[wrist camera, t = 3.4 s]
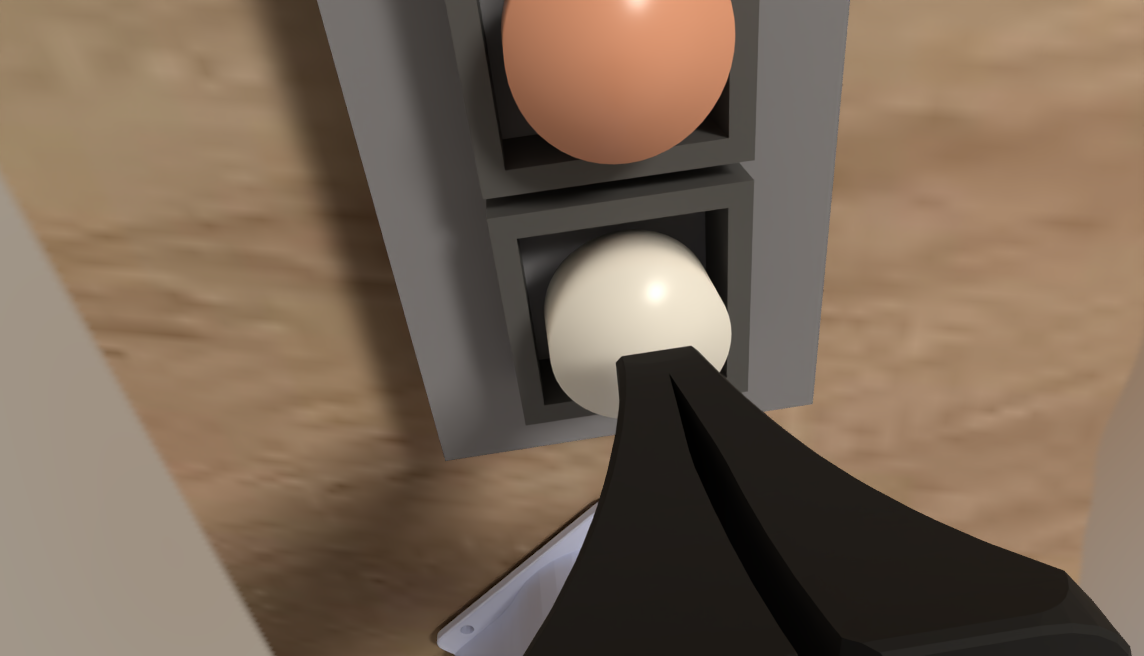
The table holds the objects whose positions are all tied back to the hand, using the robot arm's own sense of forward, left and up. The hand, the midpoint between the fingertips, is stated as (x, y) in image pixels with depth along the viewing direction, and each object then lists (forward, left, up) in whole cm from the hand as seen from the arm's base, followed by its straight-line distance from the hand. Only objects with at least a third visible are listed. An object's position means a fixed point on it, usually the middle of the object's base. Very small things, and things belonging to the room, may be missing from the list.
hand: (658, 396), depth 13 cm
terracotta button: (+4, +4, -3) cm, 6 cm away
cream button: (0, 0, -3) cm, 3 cm away
